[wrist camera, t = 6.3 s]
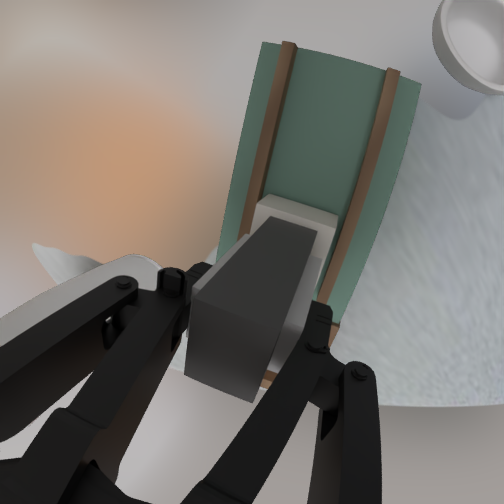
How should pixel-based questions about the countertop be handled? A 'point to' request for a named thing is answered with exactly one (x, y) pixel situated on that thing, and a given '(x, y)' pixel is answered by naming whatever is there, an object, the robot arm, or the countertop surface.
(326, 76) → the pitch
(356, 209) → the rails
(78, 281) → the spray can
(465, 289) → the countertop surface
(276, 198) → the block
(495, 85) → the teacup
